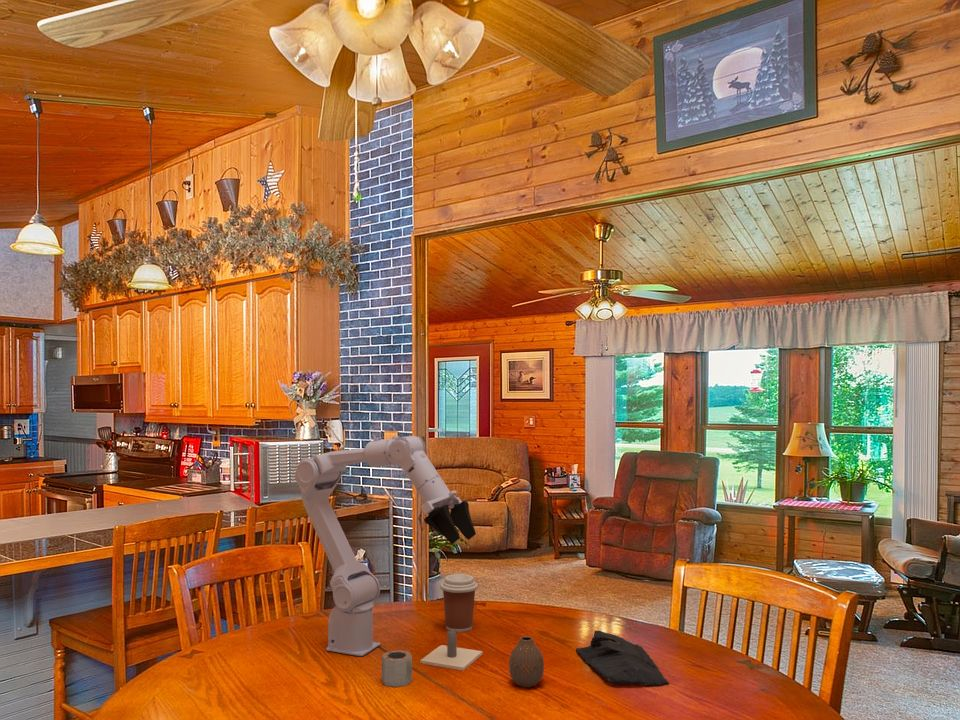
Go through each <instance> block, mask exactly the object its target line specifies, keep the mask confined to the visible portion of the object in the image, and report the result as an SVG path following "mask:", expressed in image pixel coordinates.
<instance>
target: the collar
mask: <svg viewBox="0 0 960 720" xmlns="http://www.w3.org/2000/svg"><path fill="white" fill-rule="evenodd" d="M412 678H413V655H412V654H411V652H410V651H407V650H402V649H401V650H400V649H396V650H389V651H388V650H387V651H386V652H385V653H383V654H381V682H382V683H383V685H384V686H387V687H392V688H398V687H405V686H407V685H409V684H410V683H412V681H413V679H412Z"/></svg>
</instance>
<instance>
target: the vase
mask: <svg viewBox="0 0 960 720" xmlns="http://www.w3.org/2000/svg"><path fill="white" fill-rule="evenodd" d="M509 655H510V656H509V660H508V670H509V674H510V677H511V679H512V681H513V682H514V683H515V684H516V685H517V686H518V685H519V687H521V686H522V688H532V686H533V687H535V686H537V685H538V684H539V683H540V682H541V680H542V678H543V675H544V672H545V661H544V656H543V653H542V652H541V650H540V649H539V647H538V645H536V643H535V641H534V639H533V637H532V636H525V635H524V636H521V637H520V639H519V641H518V643H517V644H516V645H515V646H514V648H513V649H512V650H511V653H510V654H509Z"/></svg>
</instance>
